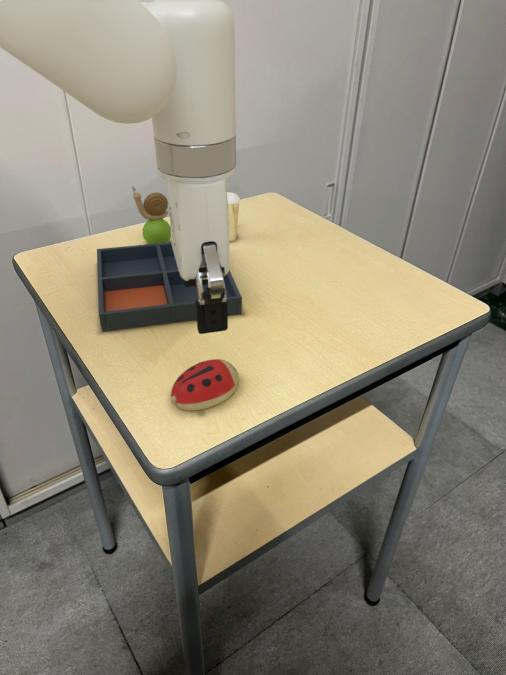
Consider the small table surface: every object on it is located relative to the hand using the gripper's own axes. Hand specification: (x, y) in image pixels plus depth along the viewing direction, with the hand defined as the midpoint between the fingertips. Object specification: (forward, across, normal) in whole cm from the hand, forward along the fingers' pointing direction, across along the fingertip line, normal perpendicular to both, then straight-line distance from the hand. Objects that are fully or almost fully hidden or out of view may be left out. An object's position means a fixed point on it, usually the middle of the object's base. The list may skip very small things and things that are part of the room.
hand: (204, 306), depth 59 cm
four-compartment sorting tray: (+13, -27, -2) cm, 30 cm away
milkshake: (+14, -43, +12) cm, 46 cm away
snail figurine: (+13, -43, -2) cm, 45 cm away
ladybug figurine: (+13, 0, 0) cm, 13 cm away
